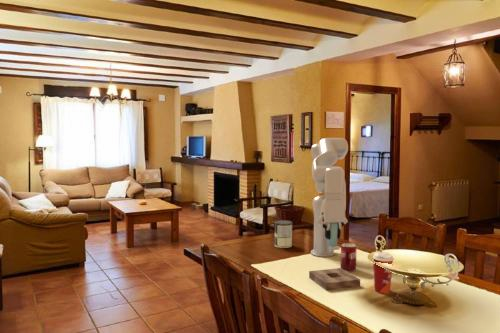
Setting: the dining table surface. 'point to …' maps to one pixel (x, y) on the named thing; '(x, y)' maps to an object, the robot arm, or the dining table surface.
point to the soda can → (348, 257)
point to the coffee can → (283, 234)
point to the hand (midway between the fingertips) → (332, 237)
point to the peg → (333, 235)
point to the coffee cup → (382, 273)
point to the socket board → (334, 279)
